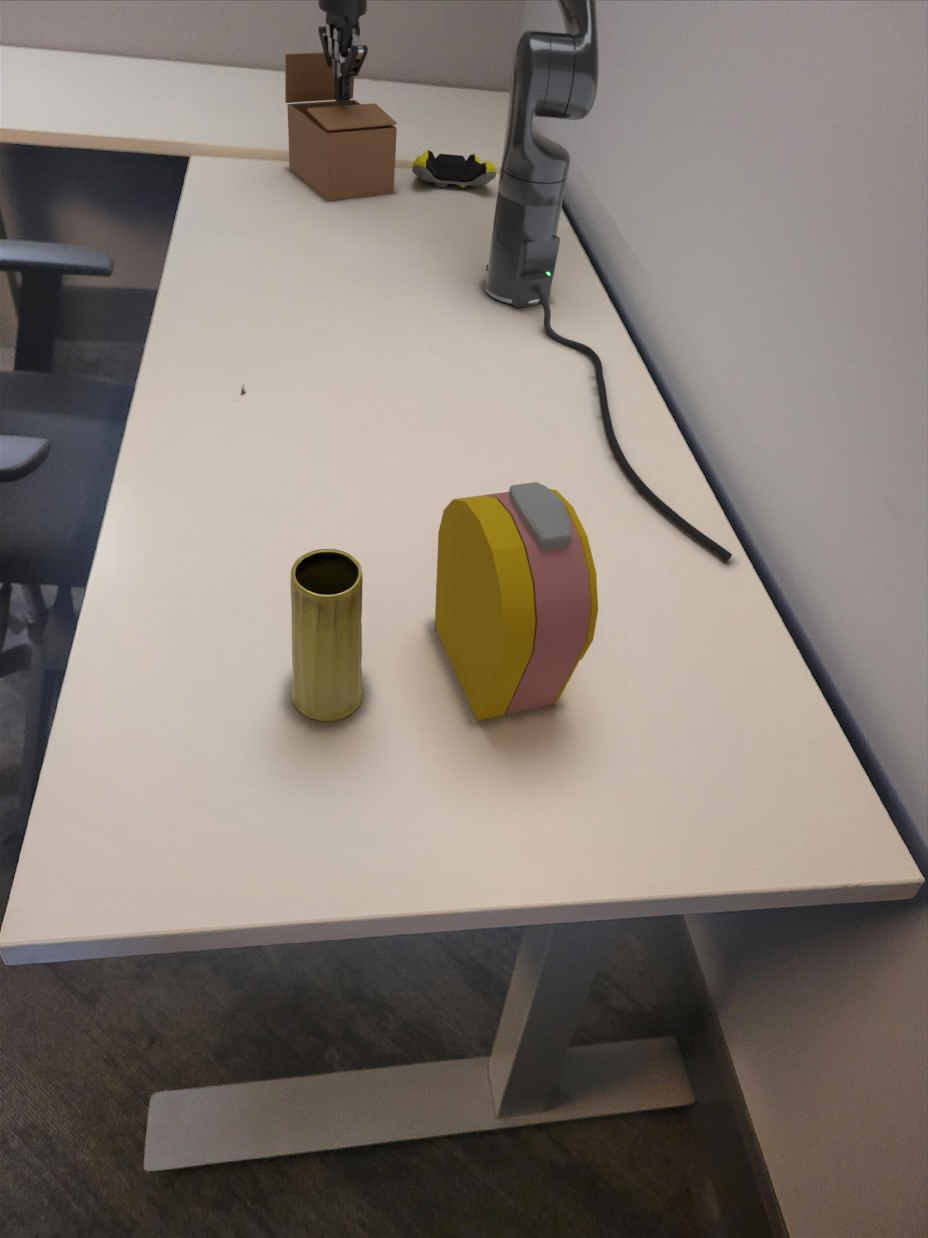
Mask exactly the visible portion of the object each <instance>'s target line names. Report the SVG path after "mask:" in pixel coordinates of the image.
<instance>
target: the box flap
mask: <svg viewBox="0 0 928 1238" xmlns="http://www.w3.org/2000/svg"><path fill="white" fill-rule="evenodd" d="M307 111H308V112H309V113H310V114H311V115H312V116H313V117H314V118H315V119H316V120H317V121H318V122H319V123H320V124H321V125H322V126H323V127H324V128H325V129H326V130H327V131H329V130H341V129H353V128H365V127H377V126H389V125H393V126H397V123H398V122H397V121H396V120H394V118H393V117H392V116H390V114H388V113H387V112H386V111H385V110H383V108H381V107H380V106H379V105H378V104H377V103H360V104H359V105H345V106H331V107H316V108H307Z"/></svg>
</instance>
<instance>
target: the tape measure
mask: <svg viewBox="0 0 928 1238" xmlns="http://www.w3.org/2000/svg"><path fill="white" fill-rule="evenodd" d="M437 533H438V535H437V558H436V559H437V560H436V584H435V586H436V587H435V608H434V609H435V611H434V627H435V630H436V632H437V635H438V637H439V640H440V641H441V644H442V646H443V649H444V650H445V652H446V655H447V657H448V659H449V663H450V664H451V666H452V669H453V671H454V674H455V675H456V678H457V680H458V681H459V682H458V683H459V684H460V687H461V689H462V691H463V694H464V697H465V699H466V700H467V703H468V706H469V707H470V709H471V712H472V714H473V716H474V719H475V721H476V722H480V721H485V720H490V719H494V718H498V717H502V716H506V715H512V714H516V713H517V714H518V713H520V712H525V711H529V710H534V709H539V708H544V707H547V706H548V707H549V706H552V705H557V703H558V701H559V700H560V698H561V696H562V694H563V693H564V690H565V688H566V687H567V685H568V683H569V682H570V679H571V677H572V676H573V674H574V672H575V670H576V668H577V667H578V664H579V662H580V661H581V660H583V658H584V656H585V655H586V653H587V651H588V650H589V648H590V646H591V645H592V644H593V641H594V638H595V631H596V625H597V620H598V612H599V602H598V600H599V597H598V581H597V571H596V567H595V562H594V558H593V554H592V550H591V549H592V548H591V546H590V541H589V538H588V537H589V536H588V535H587V532H586V531H585V529H584V526H583V524H582V523H581V520H580V518H579V516H578V514H577V512H576V510H575V508H574V506H573V505H572V504H571V503H570V502H569V501H568V500H567V499H566V497H564V496H563V495H562V494H561V493H560V492H559V491H558V489H553V488H549V487H548V486H546V485H544V484H542V483H540V482H537V481H536V482H535V481H534V482H525V483H519V484H511V486H510V487H509V490H508V491H504V492H497V493H490V494H489V493H488V494H484V495H483V494H481V495H473V496H466V497H460V498H453V499H452V500H451V501H450V502H449V503H448V504H447V506H445V508H444V509H443V511H442V516H441V520H440V524H439V528H438V532H437Z"/></svg>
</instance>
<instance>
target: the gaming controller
mask: <svg viewBox="0 0 928 1238" xmlns="http://www.w3.org/2000/svg"><path fill="white" fill-rule="evenodd" d="M411 172H412V173H413V174H414V175H415V176H416V177H417V178H418V179H419V180H421V181H423V182H425V183H433V185H434V186H435V187H439V188H446V187H447V186H448V185H450V184H451V185H456V186H458V187H459V186H460V188H465V187H468V186H471V187H472V186H473V187H481V186H485V185H487V184H488V183H489V182H492V181H493V180H495V178H496V177H497V170H496V167H495V164H494V163H493V162H492V161H489V160H485V161H483V162H481V159H480V157H479V156H478V155H476V154H475V153H471V154H470V155H468V157H467V159H466V158H465V157H464V155H461V154H450V153H449V154H447V153H439V154H437V156H436V157H435V155H434V152H433V151H431V150H429V149H427V150H425V151H424V152H423V153H422V155H417V156H416V158H415V159H414V161H413V162H412V169H411Z"/></svg>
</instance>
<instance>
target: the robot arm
mask: <svg viewBox="0 0 928 1238" xmlns="http://www.w3.org/2000/svg"><path fill="white" fill-rule="evenodd" d="M555 1H556V3H557V5H558V8H559V10H560V14H561V17H562V21H563V26H564V32H565V33H564V32H557V31H546V30H536V29H527V30H524V31H523V32H522V33H520V35H519V36H518V39H517V41H516V44H515V46H514V51H513V56H512V63H511V70H510V71H511V72H510V82H509V97H508V106H507V107H508V108H507V117H506V127H505V135H504V143H503V149H502V150H503V151H502V158H501V166H500V173H499V180H498V186H497V187H498V188H497V195H496V203H495V210H494V218H493V225H492V234H491V241H490V248H489V256H488V263H486V268H485V271H486V279H485V281H484V291H485V292H486V293H487V294H488V296H489V297H491V298H493V299H495V300H496V301H499V302H502V303H505V304H508V305H511V306H513V307H515V308H517V309H519V308H524V307H529V306H532V305H537V304H541V305H542V308H543V328H544V330H545V332H546V333H547V335H548V336H549V337H550V338H551V339H552V340H554V341H555V342H557V343H559V344H562V345H564V346H567V347H569V348H572V349H575V350H578V351H581V352H583V353H584V354H586V355H588V356H589V358H591V360H592V362H593V364H594V367H595V374H596V377H595V378H596V382H597V387H598V392H599V402H600V408H601V413H602V419H603V424H604V428H605V432H606V436H607V440H608V442H609V445H610V447H611V449H612V451H613V453H614V455H615V458H616V459H617V461H618V463H619V465H620V466H621V468H622V469H623V471H624V473H625V474H626V475H627V477H628V478H629V479H630V480H631V482H632V483H633V484H634V486H636V488H637V489H638V490H639V491H640V492H641V493H642V494H643V495H644V497H646V498H647V499H648V500H649V501H650V502H651V504H653V505H654V506H655V507H656V508H657V509H658V510H660V511H661V512H662V513H663V514H664V515H666V516H667V517H668V518H669V519H670V520H672V521H673V523H675V524H676V525H678V526H679V527H680V528H681V529H683V530H684V532H687V533H688V534H689V535H690V536H691V537H693V538H695V539H696V540H697V541H699V542H700V543H701V544H703V545H704V546H706V547H707V548H708V549H710V550H711V551H713V552H714V553H715V554H717V555H718V556H719V557H721V558H722V559H724V560H725V561H729V560H730V559H731V558H732V556H733V554H732V553H731V552H730V551H729V550H727V549H726V548H724V547H723V546H721V545H720V544H718V543H717V542H715V541H714V540H713V539H711V538H710V537H709V536H707V535H706V534H704V533H703V532H701V531H700V530H699V529H698V528H696V527H695V526H693V525H692V524H691V523H690V522H688V521H687V520H686V519H685V518H683V517H682V516H681V515H679V513H677V512H676V511H675V510H673V508H671V507H670V506H669V505H667V504H666V503H665V502H664V501H663V500H662V499H661V498H659V497H658V495H656V494H655V492H653V490H651V489H650V488H649V487H648V486H647V485H646V483H645V482H644V481H643V480H642V479H641V477H640V476H639V475H638V474H637V472H636V471H635V470H634V469H633V467H632V466H631V464H630V463H629V461H628V459H627V458H626V455H625V454H624V452H623V450H622V448H621V446H620V444H619V441H618V439H617V437H616V434H615V430H614V426H613V423H612V417H611V413H610V408H609V403H608V396H607V388H606V383H605V378H604V371H603V363H602V361H601V358H600V356H599V355H598V353H597V352H595V351H594V350H593V349H592V348H591V347H589V346H588V345H586V344H584V343H581V342H579V341H576V340H571V339H568V338H565V337H563V336H562V335H559V334H558V333H556V331H554V329H553V328H552V326H551V315H552V314H551V308H550V307H551V306H550V304H549V301H550V296H551V292H552V285H553V281H554V275H555V269H556V265H557V259H558V253H559V248H560V245H561V244H560V243H561V238H560V236H558V228H559V223H560V218H561V211H562V207H563V201H564V196H565V191H566V186H567V181H568V175H569V170H570V166H571V156H570V153H569V151H568V150H567V149H566V148H565V147H564V146H562V145H561V144H560V143H557V142H556V141H555V140H552V139H550V138H548V137H546V136H545V135H544V134H543V133H541V132H539V130H538V129H536V128H535V126H534V125H533V124H534V123H533V121H534V119H535V118H536V117H537V118H546V119H558V120H571V121H576V120H577V121H578V120H582V119H585V118H586V117H587V116H588V115H589V114H590V113H591V112H592V109H593V107H594V105H595V101H596V97H597V92H598V84H599V65H600V64H599V63H600V59H599V57H600V56H599V35H598V34H599V33H598V20H597V19H598V16H597V15H598V14H597V0H555ZM318 7H319V10H321V12H324V13H326V14H325V25H323V26H318V29H317V30H318V35H319V39H320V43H321V47H322V50H323V51H322V52H324V55H325V59H326V62H327V66H328V67H332V73H333V75H335V76H334V99H335V100H334V101H337V102H339V103H349V102H350V100H351V99H350V79H351V77H353V76H354V77H357V76H359V74H360V71H361V69H362V67H363V64H364V62H365V60H366V58H367V55H368V53H369V49H368V45H366V44H362V42H361V40H360V36H361V27H360V17H361V16H364V15H366V13H367V11H368V0H318Z"/></svg>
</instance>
